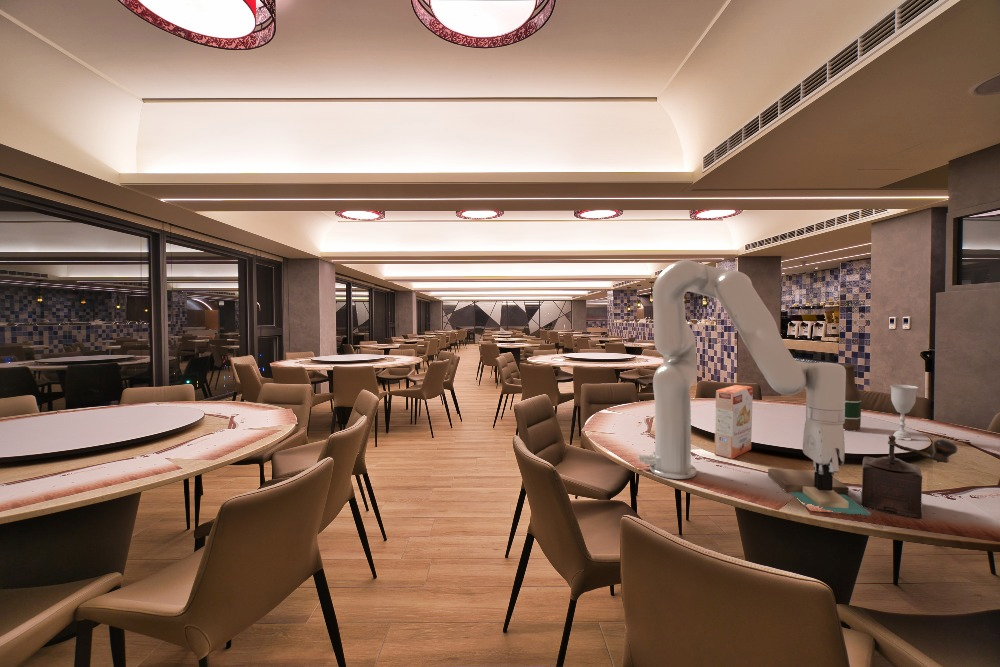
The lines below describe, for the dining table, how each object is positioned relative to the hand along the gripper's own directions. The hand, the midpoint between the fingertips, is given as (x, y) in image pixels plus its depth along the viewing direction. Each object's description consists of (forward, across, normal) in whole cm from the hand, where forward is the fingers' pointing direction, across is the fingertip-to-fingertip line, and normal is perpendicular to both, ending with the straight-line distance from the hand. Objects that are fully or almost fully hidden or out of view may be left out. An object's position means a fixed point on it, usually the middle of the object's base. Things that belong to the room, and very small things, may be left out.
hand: (823, 488), depth 107 cm
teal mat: (+3, +3, 0) cm, 4 cm away
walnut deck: (+3, -8, 0) cm, 9 cm away
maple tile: (+2, +1, 0) cm, 3 cm away
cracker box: (+3, -33, -10) cm, 35 cm away
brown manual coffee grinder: (+3, +3, +15) cm, 16 cm away
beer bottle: (+3, -66, +39) cm, 77 cm away
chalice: (+3, -55, +50) cm, 74 cm away
